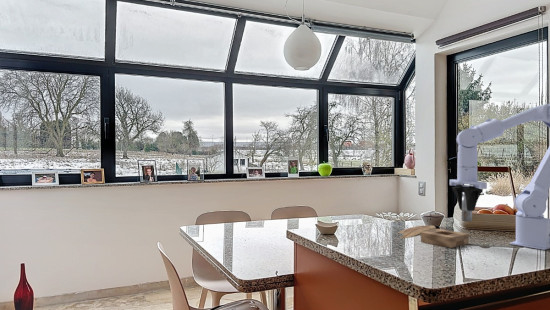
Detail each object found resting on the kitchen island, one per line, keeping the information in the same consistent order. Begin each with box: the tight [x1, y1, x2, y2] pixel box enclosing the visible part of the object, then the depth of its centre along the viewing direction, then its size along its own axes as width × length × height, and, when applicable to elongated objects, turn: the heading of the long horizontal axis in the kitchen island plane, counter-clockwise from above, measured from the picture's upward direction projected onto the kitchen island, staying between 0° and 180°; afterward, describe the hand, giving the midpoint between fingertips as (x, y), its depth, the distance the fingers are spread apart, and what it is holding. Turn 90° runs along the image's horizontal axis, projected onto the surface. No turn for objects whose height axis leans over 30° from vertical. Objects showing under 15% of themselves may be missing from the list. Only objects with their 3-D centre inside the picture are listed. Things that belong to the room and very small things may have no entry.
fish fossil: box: [397, 225, 437, 239], centre depth 142 cm, size 26×10×1 cm, turn 142°
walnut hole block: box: [420, 228, 470, 249], centre depth 125 cm, size 10×10×3 cm
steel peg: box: [461, 192, 473, 222], centre depth 127 cm, size 3×3×9 cm
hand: (466, 209), depth 127 cm, fingers closed on steel peg, 3 cm apart
